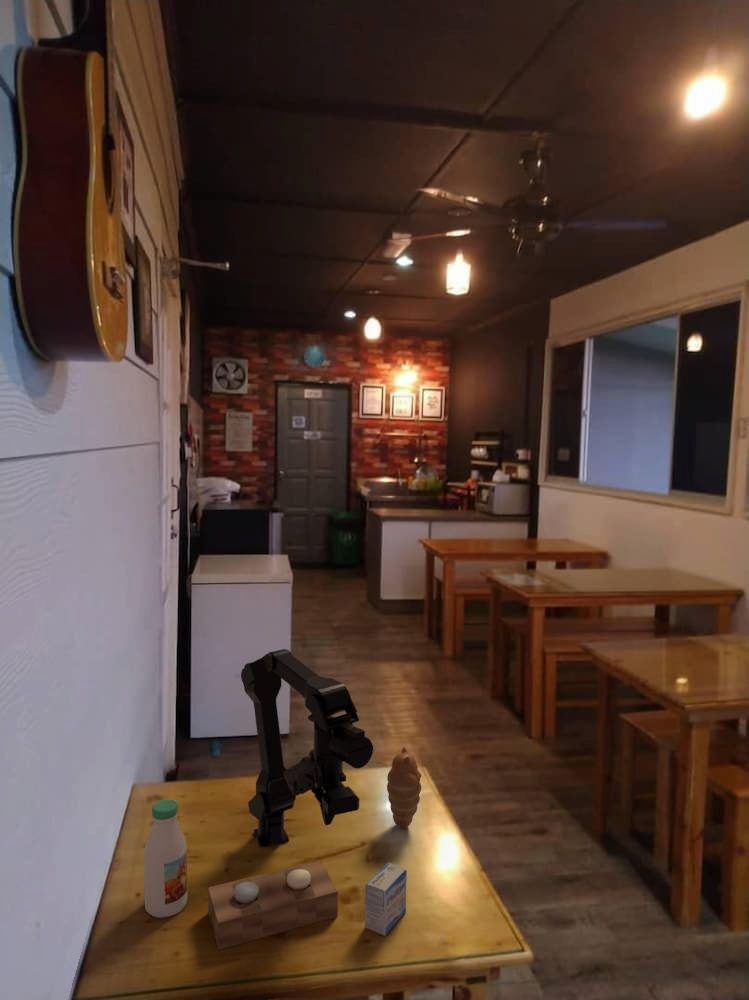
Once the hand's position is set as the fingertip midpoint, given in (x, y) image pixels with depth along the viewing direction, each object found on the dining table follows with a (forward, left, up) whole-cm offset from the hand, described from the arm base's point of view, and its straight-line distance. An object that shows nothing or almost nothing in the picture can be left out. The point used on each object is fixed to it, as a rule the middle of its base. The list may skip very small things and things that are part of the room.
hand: (327, 823), depth 136 cm
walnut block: (+4, -12, -13) cm, 18 cm away
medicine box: (+13, +7, -13) cm, 20 cm away
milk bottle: (-6, -30, -13) cm, 33 cm away
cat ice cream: (-13, +23, -13) cm, 30 cm away
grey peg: (+4, -17, -12) cm, 21 cm away
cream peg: (+4, -7, -12) cm, 15 cm away
